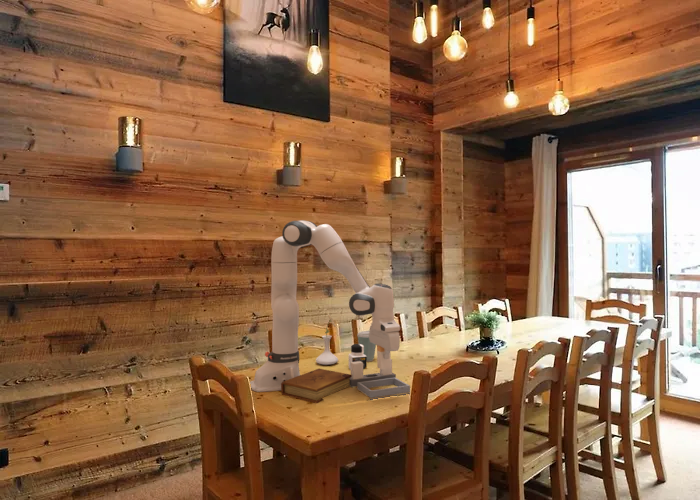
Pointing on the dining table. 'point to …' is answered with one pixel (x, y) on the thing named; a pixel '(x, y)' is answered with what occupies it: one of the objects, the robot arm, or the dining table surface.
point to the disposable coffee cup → (367, 345)
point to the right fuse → (386, 370)
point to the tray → (383, 392)
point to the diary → (315, 385)
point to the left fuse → (357, 370)
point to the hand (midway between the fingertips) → (383, 357)
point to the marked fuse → (382, 359)
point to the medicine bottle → (357, 355)
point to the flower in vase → (327, 349)
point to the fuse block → (370, 378)
